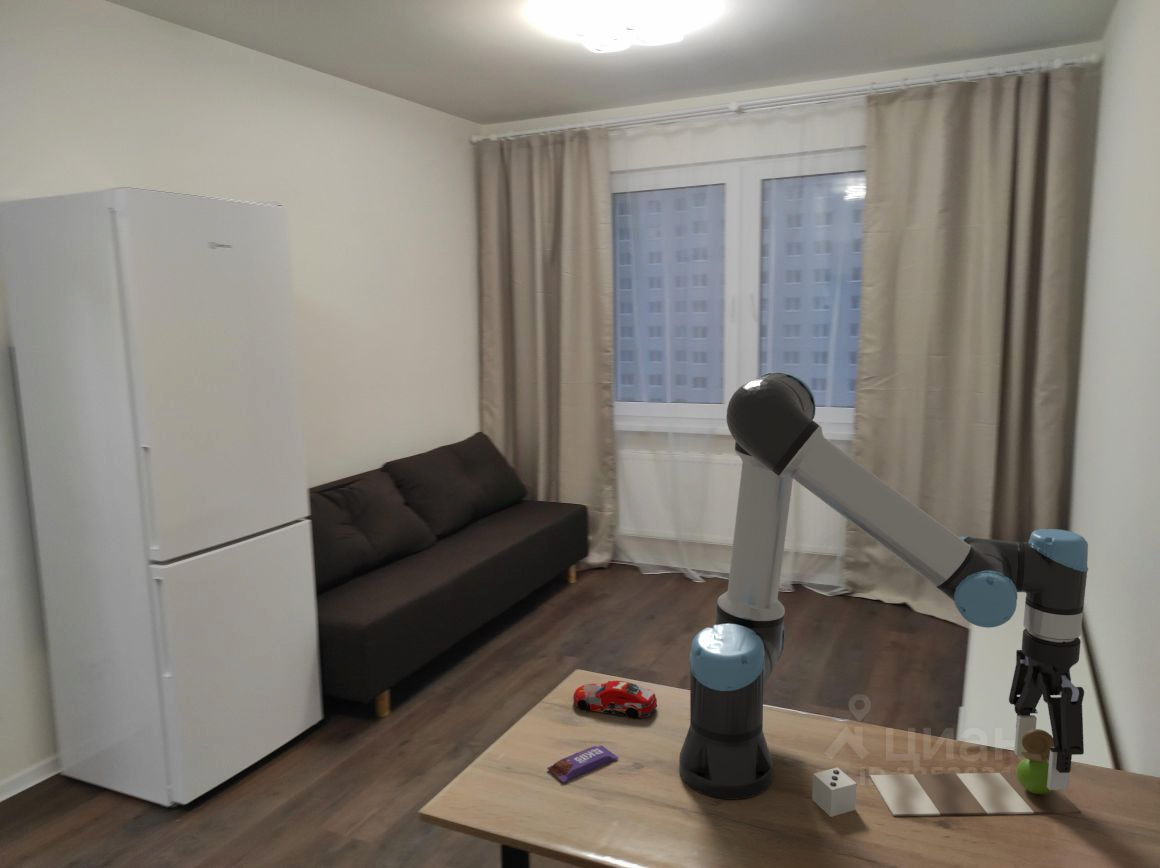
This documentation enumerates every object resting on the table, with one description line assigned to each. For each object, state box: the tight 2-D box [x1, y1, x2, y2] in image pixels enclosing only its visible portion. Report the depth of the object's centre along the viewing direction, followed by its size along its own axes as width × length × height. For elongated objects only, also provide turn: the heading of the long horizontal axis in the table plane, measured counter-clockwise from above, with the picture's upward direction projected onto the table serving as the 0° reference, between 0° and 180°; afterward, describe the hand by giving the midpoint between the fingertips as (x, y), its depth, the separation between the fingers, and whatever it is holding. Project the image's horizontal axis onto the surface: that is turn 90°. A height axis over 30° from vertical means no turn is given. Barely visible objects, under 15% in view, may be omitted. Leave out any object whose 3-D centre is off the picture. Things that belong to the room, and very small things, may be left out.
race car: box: [573, 680, 658, 720], centre depth 153 cm, size 16×7×5 cm, turn 69°
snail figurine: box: [1016, 728, 1054, 794], centre depth 124 cm, size 5×6×12 cm
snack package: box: [546, 745, 619, 783], centre depth 135 cm, size 12×2×5 cm
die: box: [811, 767, 858, 818], centre depth 123 cm, size 4×4×5 cm
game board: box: [869, 772, 1081, 817], centre depth 125 cm, size 28×10×1 cm, turn 90°
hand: (1040, 770), depth 124 cm, fingers open, 8 cm apart
